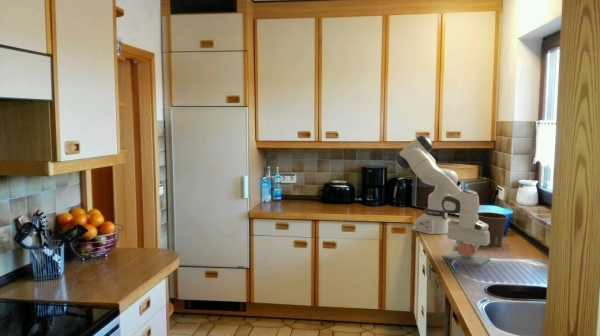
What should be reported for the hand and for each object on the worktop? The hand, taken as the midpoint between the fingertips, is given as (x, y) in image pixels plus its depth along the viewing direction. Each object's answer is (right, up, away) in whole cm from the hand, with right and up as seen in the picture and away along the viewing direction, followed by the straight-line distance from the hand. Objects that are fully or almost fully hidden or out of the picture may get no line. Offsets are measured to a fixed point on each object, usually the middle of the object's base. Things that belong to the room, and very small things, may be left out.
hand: (467, 250), depth 224 cm
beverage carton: (+9, -2, +24) cm, 25 cm away
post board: (0, -4, 0) cm, 4 cm away
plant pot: (+23, -1, +29) cm, 37 cm away
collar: (0, -2, 0) cm, 2 cm away
